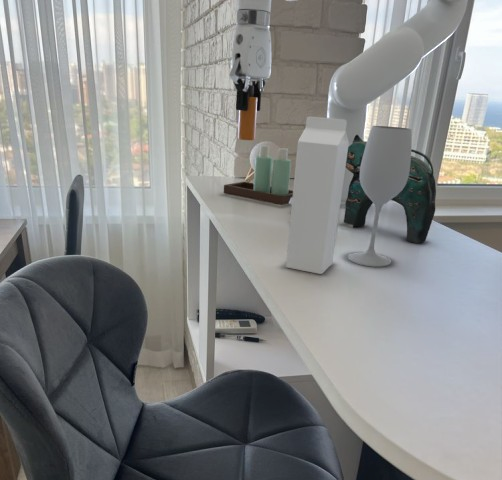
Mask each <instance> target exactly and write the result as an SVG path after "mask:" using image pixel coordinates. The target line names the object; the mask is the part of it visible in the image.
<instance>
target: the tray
mask: <svg viewBox="0 0 502 480" xmlns="http://www.w3.org/2000/svg"><path fill="white" fill-rule="evenodd" d="M253 188H254V182H249V181H239V182H232V183H227V184H223V194H226V195H231V196H236V197H241V198H245V199H251V200H255V201H260V202H265V203H269V204H275V205H279V206H284V205H287V204H289V201H290V199H291V197H293V190H291V189H289V191H288V194H285V195H277V194H271V189H272V185H270V193H266V192H261V191H256V190H253Z"/></svg>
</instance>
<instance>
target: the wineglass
mask: <svg viewBox="0 0 502 480" xmlns="http://www.w3.org/2000/svg"><path fill="white" fill-rule="evenodd" d="M412 136H413V134H412V128H407V127H399V126H388V125H372V126H371V128H370V131H369V134H368V137H367V141H366V142H367V143H366V147H365V150H364V154H363V158H362V162H361V167H360V178H359V179H360V183H361V187H362V188H363V190H364V192H365V193H366V195H367V196H368V197H369V198H370V200H371V201H372V202H373V205H374V217H373V224H372V229H371V235H370V240H369V246H368V248H367V250H366V251H357V252H352V253H349V254H348V256H347V257H348V258H347V259H348V260H349V261H350V262H352V263H354V264H357V265H360V266H366V267H375V268H376V267H377V268H380V267H381V268H382V267H387V266H390V265H391V264H392V260H391V259H390V258H389V257H388V256H385V255H382V254H380V253H376V250H375V242H376V237H377V232H378V231H377V230H378V226H379V225H378V224H379V219H380V214H381V211H382V208H383V207H384V205H385V204H387V203H389V202H390V201H392V200H391V199H393V198H394V197H395V196H397V195H398V194H399V193H400V192H401V191H402V190H403V188H404V187H405V185H406V183H407V180H408V176H409V171H410V162H411V156H412V152H411V149H412V145H413V141H412V139H413V137H412Z"/></svg>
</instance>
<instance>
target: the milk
mask: <svg viewBox="0 0 502 480" xmlns="http://www.w3.org/2000/svg"><path fill="white" fill-rule="evenodd" d="M346 125H347V121H346V120H345V119H334V118H327V117H320V116H309V115H308V116H307V117H306V121H305V128H304V129H303V132H302V133H301V134H300V137H299V138H298V140H297V146H296V147H297V148H296V157H295V169H294V178H293V179H294V180H293V190H292V191H293V199H292V205H291V210H290V221H289V230H288V239H287V240H288V243H287V250H286V252H287V253H286V261H285V267H286V268H287V269H293V270H298V271H304V272H308V273H313V274H317V275H323V273H325V271H327V270H328V269H329V268H330V267H331V266H332V265H333V260H334V253H335V245H336V238H337V231H338V225H339V216H340V210H341V205H340V203H341V196H342V189H343V181H344V174H345V167H346V160H347V152H348V145H349V141H348V138H347V134H346Z"/></svg>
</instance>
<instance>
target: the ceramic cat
mask: <svg viewBox="0 0 502 480" xmlns="http://www.w3.org/2000/svg"><path fill="white" fill-rule="evenodd" d="M366 143H367V141H365V140H364V141H363V140H361V138H360V137H359V136H358V135H356V136H355V138H354V140H353V143H352V144H351V145H350V146H349V147H348V152H347V160H346V168H347V169H348V170H349V171H350V172H352V173H353V174H354V175H353V178H352V180H351V182H350V185H349V190H348V197H347V200H346V203H345V205H344V206H345V207H344V216H343V223H344V224H346V225H347V224H348V225H352V228H360V227H364V226H365V224H366V219H367V215H368V211H369V210H370V209H371V207H372V205H374V203H373V202H372V201H371V200H370V198H369V197H368V196H367V195H366V193H365V192H364V190H363V188H362V187H361V183H360V179H359V178H360V167H361V162H362V158H363V154H364V150H365V147H366ZM411 153H415V154H416V155H419V156H421V157H422V158H424V159H425V160H426V162H427V163H428V164H427V163H426V162H425V161H424V160H423V159H421V158H418V157H417V156H413V155H411V162H410V171H409V176H408V180H407V183H406V185H405V187H404V188H403V190H402V191H401V192H400V193H399V194H398V195H397V196H395V197H394V198H393V199H391V200H390V201H392V202H395V203H397V204H399V205H400V206H401V207H403V210H404V213H405V220H406V221H405V222H406V242H409V243H413V244H421V243H423V242H426V240H427V237H428V234H429V232H430V229H431V226H432V222H433V220H434V216H435V213H436V197H437V186H436V185H437V184H436V179H435V178H436V177H435V175H434V174H435V173H434V166H433V163H432V161H431V160H430V158H429V156H427V155H426V154H425V153H423V152H421V151H419V150H416V149H412V148H411Z"/></svg>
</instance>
